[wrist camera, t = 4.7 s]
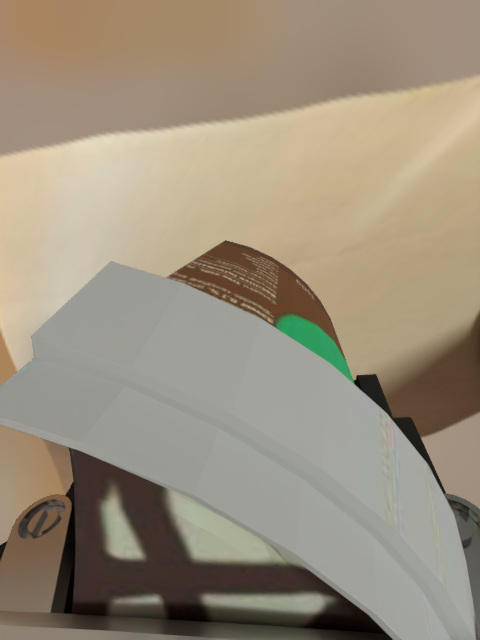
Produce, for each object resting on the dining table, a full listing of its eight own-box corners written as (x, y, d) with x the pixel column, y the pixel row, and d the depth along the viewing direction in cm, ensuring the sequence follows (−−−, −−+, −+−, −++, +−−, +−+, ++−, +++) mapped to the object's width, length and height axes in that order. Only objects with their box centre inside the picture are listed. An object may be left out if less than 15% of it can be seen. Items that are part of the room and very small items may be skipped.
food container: (322, 505, 16) (345, 939, 7) (190, 471, 17) (57, 840, 8) (431, 233, 11) (1035, 608, 2) (232, 193, 11) (-43, 344, 2)
